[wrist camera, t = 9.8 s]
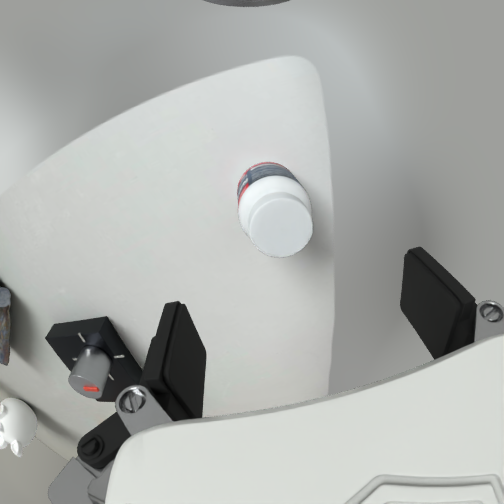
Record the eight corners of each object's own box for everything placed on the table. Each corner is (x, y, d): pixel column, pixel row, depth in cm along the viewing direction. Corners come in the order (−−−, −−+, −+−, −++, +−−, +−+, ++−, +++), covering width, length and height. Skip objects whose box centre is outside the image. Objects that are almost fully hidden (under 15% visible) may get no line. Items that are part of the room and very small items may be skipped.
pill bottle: (234, 163, 24) (235, 189, 16) (295, 159, 24) (324, 184, 16) (239, 219, 26) (242, 269, 19) (295, 215, 27) (321, 262, 19)
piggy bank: (9, 382, 39) (-15, 432, 26) (48, 413, 44) (30, 464, 31) (0, 392, 42) (-20, 435, 29) (34, 419, 47) (19, 463, 34)
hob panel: (52, 322, 31) (43, 337, 28) (114, 312, 31) (105, 330, 28) (102, 387, 38) (97, 402, 35) (161, 385, 37) (158, 402, 35)
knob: (92, 369, 31) (80, 399, 27) (75, 346, 29) (60, 377, 25) (118, 368, 31) (107, 401, 26) (101, 344, 29) (88, 378, 24)
